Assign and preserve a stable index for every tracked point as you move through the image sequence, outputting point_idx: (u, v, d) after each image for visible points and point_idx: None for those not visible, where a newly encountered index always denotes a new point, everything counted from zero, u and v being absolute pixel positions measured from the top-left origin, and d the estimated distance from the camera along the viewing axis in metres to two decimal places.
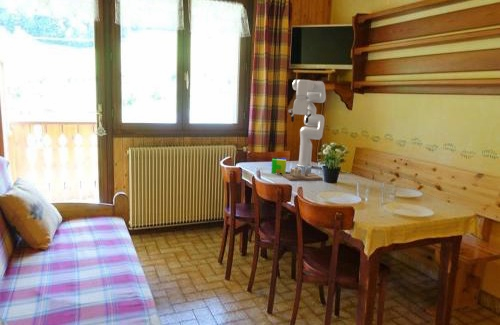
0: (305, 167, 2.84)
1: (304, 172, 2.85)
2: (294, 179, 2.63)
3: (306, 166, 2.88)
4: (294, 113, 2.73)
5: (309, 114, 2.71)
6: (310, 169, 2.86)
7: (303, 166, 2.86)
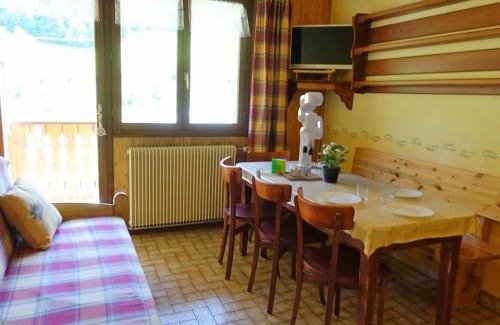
0: (305, 167, 2.84)
1: (304, 172, 2.85)
2: (294, 179, 2.63)
3: (306, 166, 2.88)
4: None
5: None
6: (310, 169, 2.86)
7: (303, 166, 2.86)
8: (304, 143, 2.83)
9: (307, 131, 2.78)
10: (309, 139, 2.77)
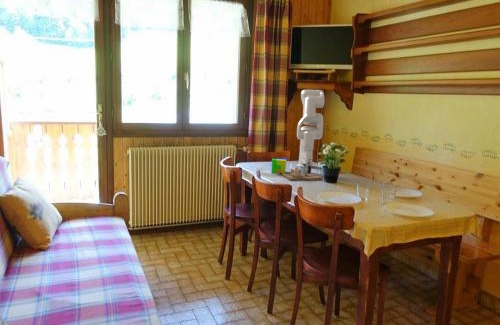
0: (305, 167, 2.84)
1: (304, 172, 2.85)
2: (294, 179, 2.63)
3: (306, 166, 2.88)
4: None
5: None
6: None
7: (303, 166, 2.86)
8: (303, 161, 2.86)
9: (306, 149, 2.81)
10: (307, 157, 2.80)
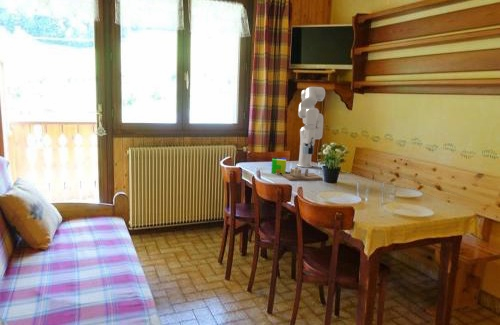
0: (307, 147, 2.66)
1: (306, 152, 2.67)
2: (294, 179, 2.63)
3: (308, 146, 2.70)
4: None
5: None
6: None
7: (305, 146, 2.68)
8: (304, 140, 2.67)
9: (308, 128, 2.63)
10: (310, 136, 2.62)
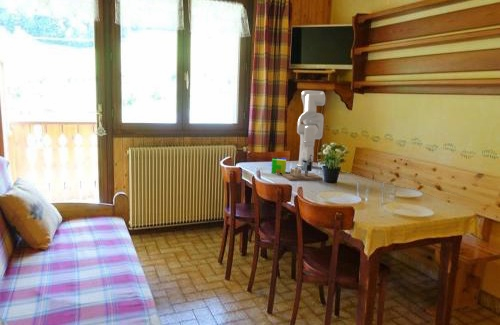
0: (306, 164, 2.68)
1: (305, 169, 2.69)
2: (294, 179, 2.63)
3: (307, 163, 2.72)
4: None
5: None
6: None
7: (303, 163, 2.70)
8: (303, 157, 2.70)
9: (306, 145, 2.65)
10: (308, 153, 2.64)
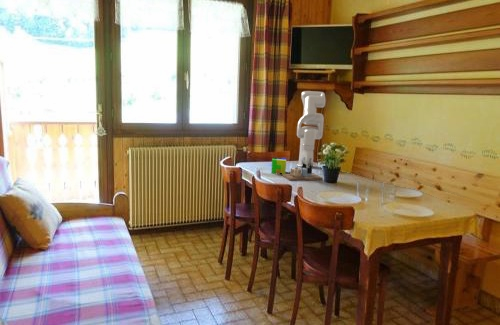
0: (305, 169, 2.69)
1: (304, 175, 2.70)
2: (294, 179, 2.63)
3: None
4: None
5: None
6: None
7: (303, 168, 2.71)
8: (303, 161, 2.70)
9: (306, 148, 2.65)
10: (308, 157, 2.64)
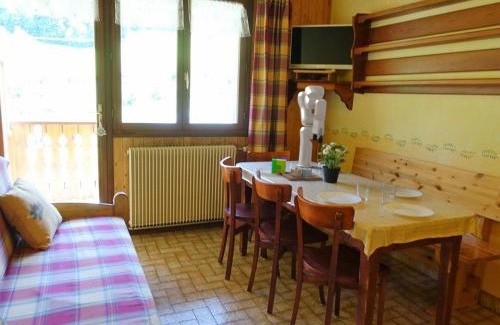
0: (305, 169, 2.69)
1: (304, 175, 2.70)
2: (294, 179, 2.63)
3: None
4: None
5: None
6: None
7: (303, 168, 2.71)
8: (314, 131, 2.75)
9: (317, 118, 2.70)
10: (319, 127, 2.69)
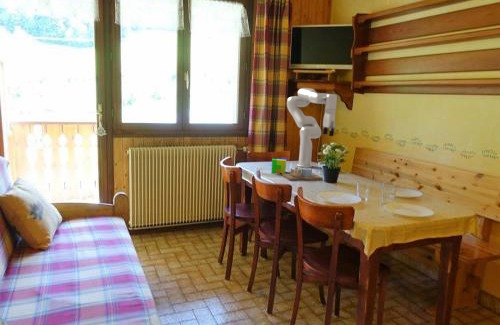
0: (305, 169, 2.69)
1: (304, 175, 2.70)
2: (294, 179, 2.63)
3: None
4: None
5: None
6: None
7: (303, 168, 2.71)
8: (325, 124, 2.84)
9: (328, 112, 2.79)
10: (330, 120, 2.78)
